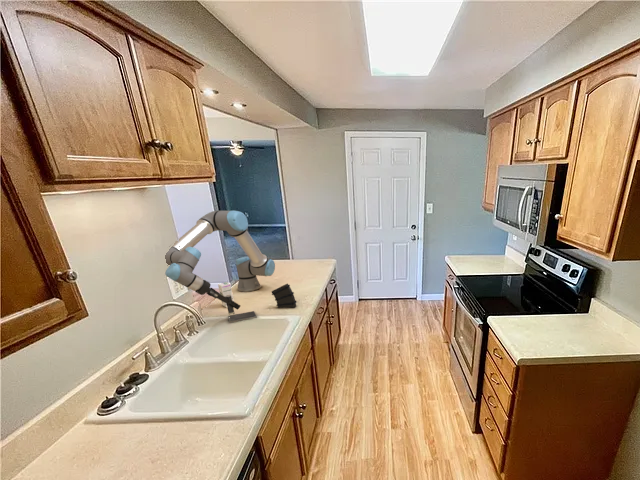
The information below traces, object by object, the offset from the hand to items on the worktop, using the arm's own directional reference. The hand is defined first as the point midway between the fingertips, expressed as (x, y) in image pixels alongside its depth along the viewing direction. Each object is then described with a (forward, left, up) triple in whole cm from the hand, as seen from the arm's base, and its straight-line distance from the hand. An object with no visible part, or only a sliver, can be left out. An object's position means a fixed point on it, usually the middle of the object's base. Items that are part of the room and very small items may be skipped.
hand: (237, 306), depth 186 cm
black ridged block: (-3, +26, -7) cm, 27 cm away
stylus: (+1, -4, -3) cm, 5 cm away
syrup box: (-24, -4, -7) cm, 25 cm away
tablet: (+1, +1, -7) cm, 7 cm away
